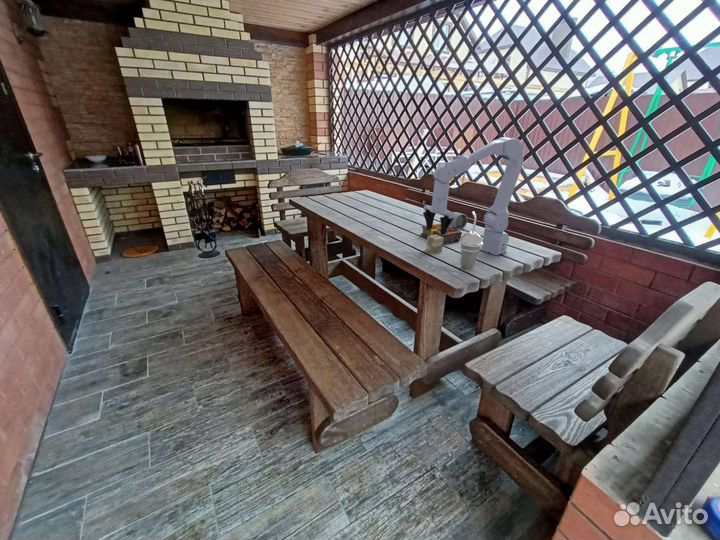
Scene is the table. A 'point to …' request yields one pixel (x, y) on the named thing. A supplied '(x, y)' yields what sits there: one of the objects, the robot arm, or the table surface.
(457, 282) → the table surface
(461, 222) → the ceramic mug
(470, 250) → the cup with straw
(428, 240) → the birch block
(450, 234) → the decorative book
